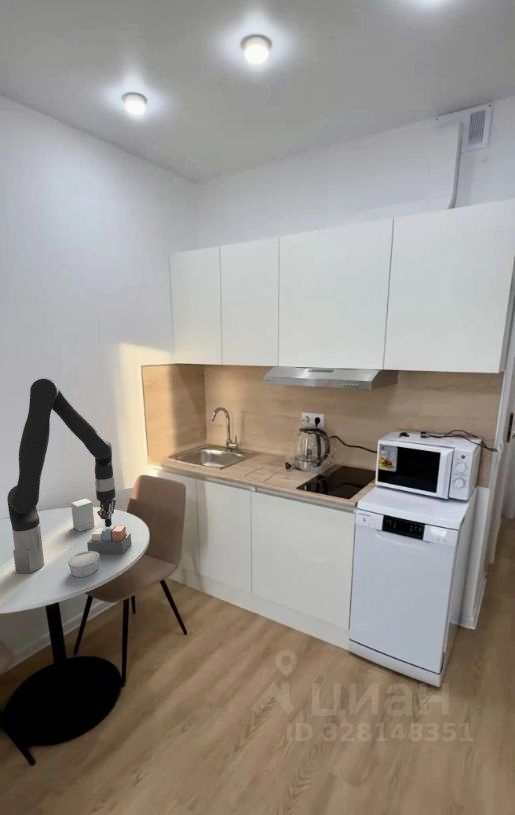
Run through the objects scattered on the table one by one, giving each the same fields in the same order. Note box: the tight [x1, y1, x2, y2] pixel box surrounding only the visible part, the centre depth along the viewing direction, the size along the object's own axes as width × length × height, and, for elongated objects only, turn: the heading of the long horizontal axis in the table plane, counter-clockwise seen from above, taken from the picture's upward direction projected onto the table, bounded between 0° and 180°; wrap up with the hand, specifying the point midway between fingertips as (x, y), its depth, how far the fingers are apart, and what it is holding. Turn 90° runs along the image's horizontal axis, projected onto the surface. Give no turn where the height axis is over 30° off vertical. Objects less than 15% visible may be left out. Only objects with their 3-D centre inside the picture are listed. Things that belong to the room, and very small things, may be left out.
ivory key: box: [91, 527, 104, 541], centre depth 166 cm, size 5×4×5 cm
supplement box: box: [70, 498, 95, 532], centre depth 186 cm, size 7×7×13 cm
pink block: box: [112, 525, 127, 541], centre depth 165 cm, size 5×4×5 cm
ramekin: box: [67, 550, 101, 578], centre depth 151 cm, size 11×11×5 cm
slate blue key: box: [102, 525, 117, 541], centre depth 166 cm, size 5×4×5 cm
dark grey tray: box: [86, 532, 132, 555], centre depth 166 cm, size 9×15×5 cm, turn 86°
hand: (108, 526), depth 165 cm, fingers closed
